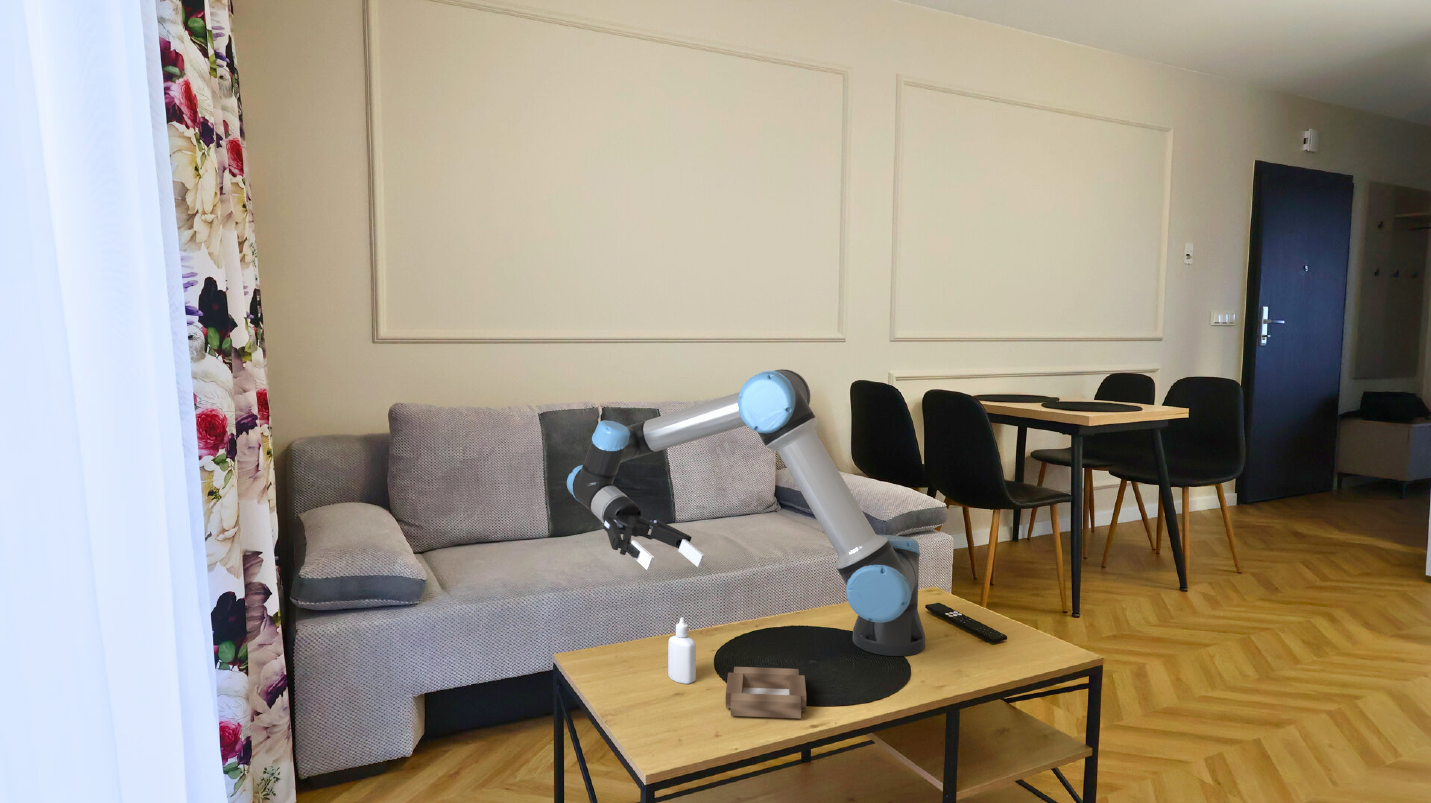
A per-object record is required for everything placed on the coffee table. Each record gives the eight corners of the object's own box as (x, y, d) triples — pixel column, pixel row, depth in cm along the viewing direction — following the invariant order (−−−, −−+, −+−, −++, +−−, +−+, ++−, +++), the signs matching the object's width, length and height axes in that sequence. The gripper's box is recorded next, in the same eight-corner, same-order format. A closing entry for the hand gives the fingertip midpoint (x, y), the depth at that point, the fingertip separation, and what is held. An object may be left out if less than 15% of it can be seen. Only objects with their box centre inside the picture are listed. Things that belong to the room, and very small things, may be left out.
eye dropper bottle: (687, 671, 160) (688, 611, 159) (697, 683, 155) (698, 621, 154) (666, 674, 158) (666, 614, 157) (675, 686, 153) (675, 624, 152)
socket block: (803, 685, 154) (803, 669, 154) (806, 721, 140) (807, 702, 140) (728, 683, 155) (728, 666, 155) (724, 717, 141) (724, 699, 141)
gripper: (654, 526, 185) (714, 576, 171) (562, 526, 167) (621, 582, 153) (665, 496, 183) (726, 544, 169) (574, 493, 165) (634, 546, 151)
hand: (676, 562), depth 161 cm, fingers open, 13 cm apart
